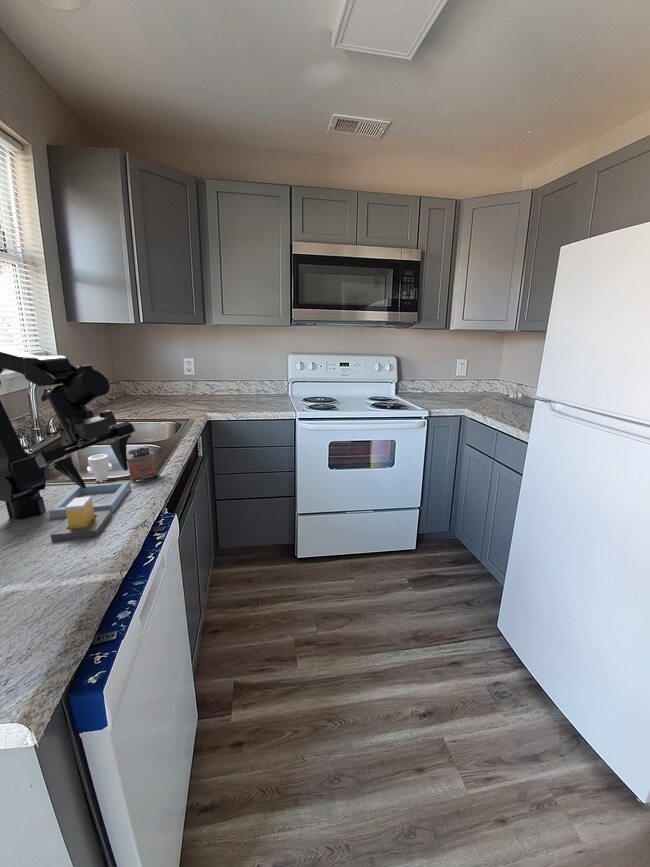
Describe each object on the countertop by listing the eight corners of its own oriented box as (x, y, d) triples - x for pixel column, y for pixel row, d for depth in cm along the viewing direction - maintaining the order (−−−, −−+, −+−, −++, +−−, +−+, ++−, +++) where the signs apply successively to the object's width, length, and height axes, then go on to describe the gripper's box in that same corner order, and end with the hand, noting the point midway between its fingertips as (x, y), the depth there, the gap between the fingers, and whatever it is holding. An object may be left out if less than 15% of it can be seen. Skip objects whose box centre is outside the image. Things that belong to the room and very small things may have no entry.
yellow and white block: (70, 534, 88) (65, 507, 87) (79, 523, 93) (74, 497, 92) (87, 532, 89) (82, 505, 87) (96, 522, 94) (91, 496, 92)
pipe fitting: (110, 484, 119) (105, 459, 117) (84, 486, 118) (80, 460, 116) (118, 477, 125) (114, 452, 123) (94, 478, 124) (90, 454, 122)
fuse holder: (52, 545, 86) (50, 534, 85) (72, 523, 95) (70, 514, 95) (97, 540, 87) (95, 530, 87) (112, 519, 97) (111, 510, 96)
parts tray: (51, 522, 96) (48, 510, 96) (78, 495, 112) (76, 485, 111) (113, 516, 99) (111, 505, 98) (131, 491, 114) (129, 481, 113)
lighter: (153, 473, 128) (149, 443, 125) (158, 475, 126) (154, 445, 123) (128, 480, 122) (123, 449, 119) (133, 483, 120) (128, 451, 117)
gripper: (32, 416, 72) (72, 493, 74) (129, 390, 86) (160, 455, 88) (19, 431, 80) (55, 500, 81) (110, 404, 94) (139, 464, 95)
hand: (106, 478), depth 86 cm, fingers open, 9 cm apart
